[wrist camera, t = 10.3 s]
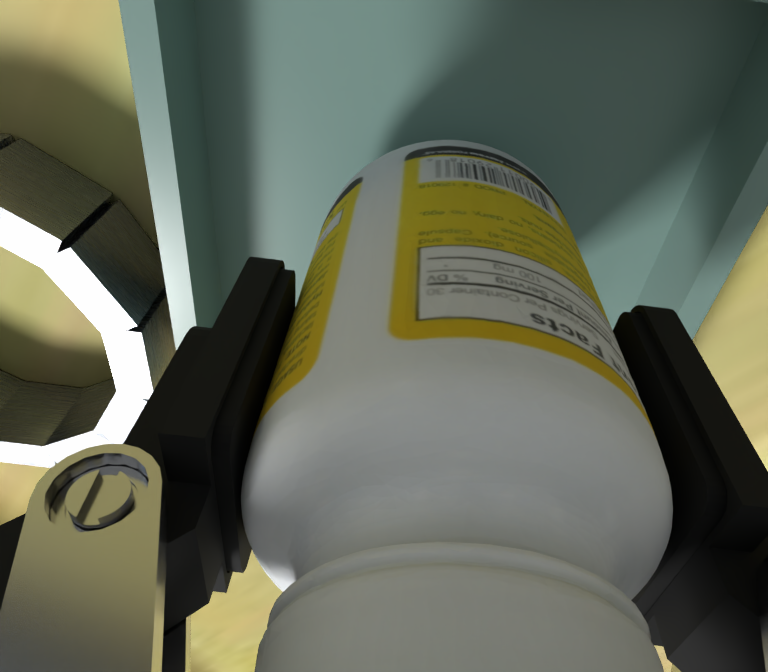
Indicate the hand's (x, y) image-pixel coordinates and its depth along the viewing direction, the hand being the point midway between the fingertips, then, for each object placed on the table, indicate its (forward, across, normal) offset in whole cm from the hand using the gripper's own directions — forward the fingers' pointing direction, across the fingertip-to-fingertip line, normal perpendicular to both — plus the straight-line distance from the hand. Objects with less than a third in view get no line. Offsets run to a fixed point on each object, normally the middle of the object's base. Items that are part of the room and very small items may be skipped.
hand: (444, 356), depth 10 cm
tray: (+5, 0, 0) cm, 5 cm away
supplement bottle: (+4, 0, 0) cm, 4 cm away
